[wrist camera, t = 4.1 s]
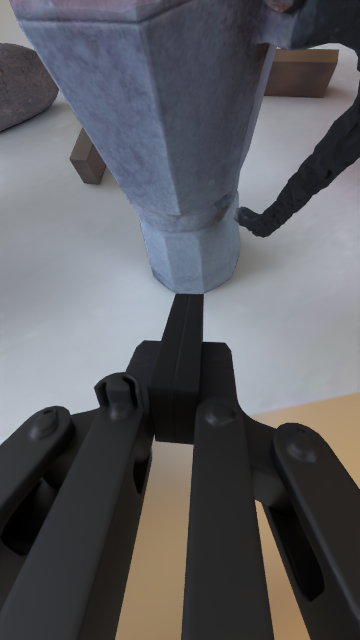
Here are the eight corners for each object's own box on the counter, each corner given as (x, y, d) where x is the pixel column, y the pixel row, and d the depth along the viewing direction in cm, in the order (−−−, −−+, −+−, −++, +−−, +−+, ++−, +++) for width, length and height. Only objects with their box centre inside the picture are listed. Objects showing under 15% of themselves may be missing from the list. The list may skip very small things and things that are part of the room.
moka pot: (169, 187, 25) (53, -450, 6) (292, 261, 21) (1074, -754, 2) (111, 249, 24) (-281, -291, 5) (231, 339, 20) (770, -381, 1)
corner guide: (76, 181, 27) (60, 158, 24) (117, 77, 30) (107, 45, 27) (309, 208, 23) (324, 184, 20) (324, 85, 26) (339, 49, 23)
